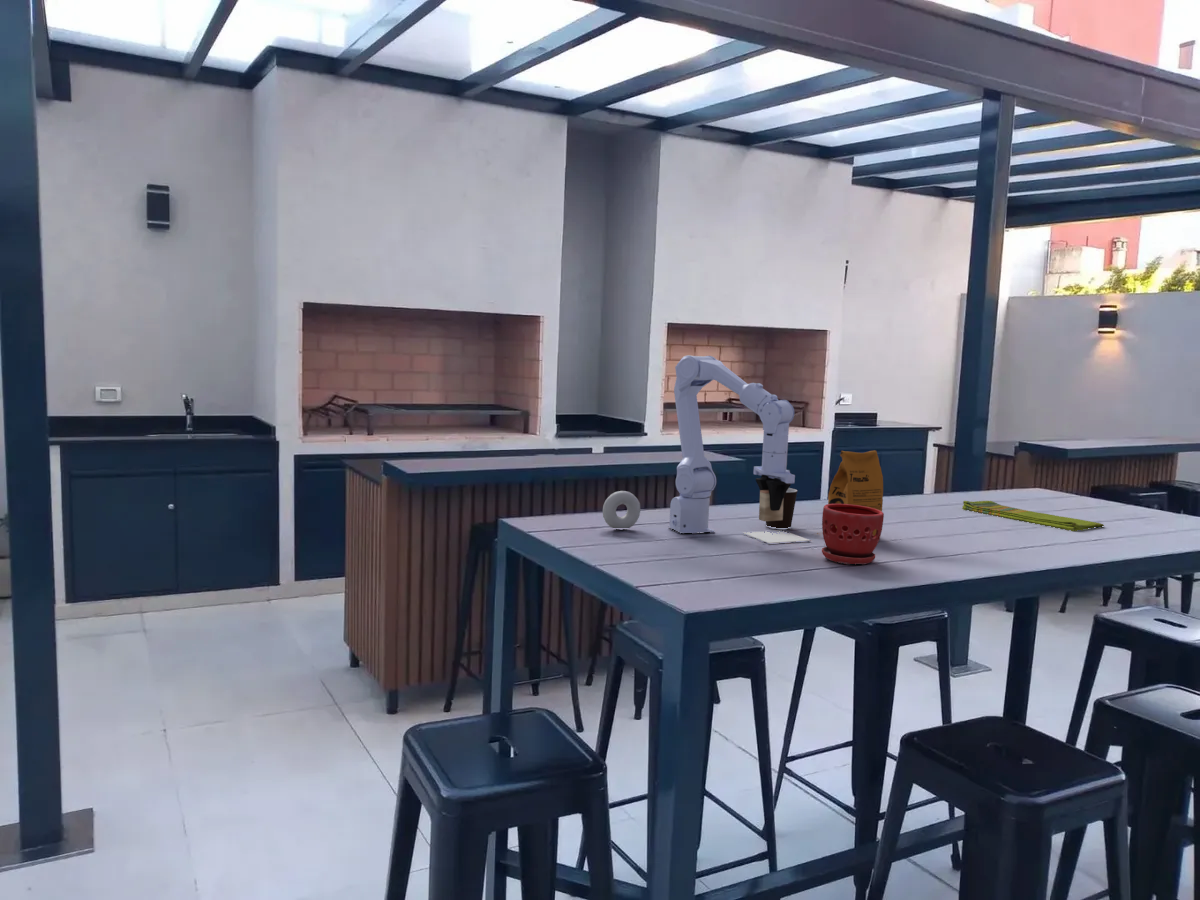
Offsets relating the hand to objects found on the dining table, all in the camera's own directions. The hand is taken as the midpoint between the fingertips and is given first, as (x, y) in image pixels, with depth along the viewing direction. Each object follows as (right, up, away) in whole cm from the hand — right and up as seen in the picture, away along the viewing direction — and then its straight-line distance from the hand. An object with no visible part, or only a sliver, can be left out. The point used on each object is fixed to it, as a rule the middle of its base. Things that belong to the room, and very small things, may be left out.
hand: (771, 509), depth 217 cm
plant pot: (+15, -11, -11) cm, 22 cm away
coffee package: (+23, -8, +15) cm, 28 cm away
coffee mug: (+6, -6, +26) cm, 27 cm away
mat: (+3, -8, +10) cm, 13 cm away
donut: (-35, -6, +14) cm, 38 cm away
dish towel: (+85, -7, +51) cm, 99 cm away
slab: (0, -3, 0) cm, 3 cm away
